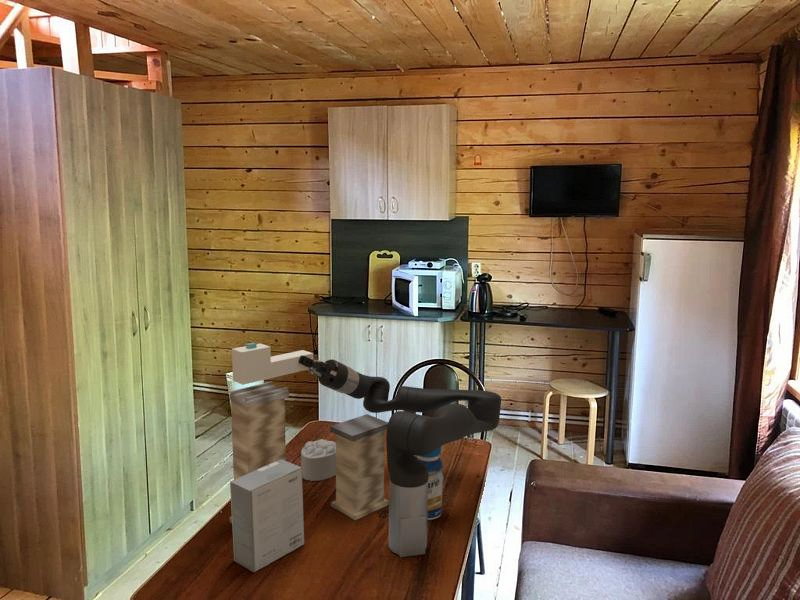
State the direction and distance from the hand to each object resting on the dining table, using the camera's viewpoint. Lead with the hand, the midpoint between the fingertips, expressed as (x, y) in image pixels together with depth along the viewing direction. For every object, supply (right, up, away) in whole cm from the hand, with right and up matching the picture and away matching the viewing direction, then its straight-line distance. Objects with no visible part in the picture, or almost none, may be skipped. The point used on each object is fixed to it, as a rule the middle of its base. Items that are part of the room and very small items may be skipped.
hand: (294, 356), depth 170 cm
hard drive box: (-3, -45, -15) cm, 48 cm away
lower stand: (+16, -41, +8) cm, 45 cm away
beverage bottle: (+34, -42, +4) cm, 54 cm away
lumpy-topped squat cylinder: (+3, -37, +28) cm, 46 cm away
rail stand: (-8, -42, 0) cm, 43 cm away
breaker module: (-4, -4, -4) cm, 7 cm away
